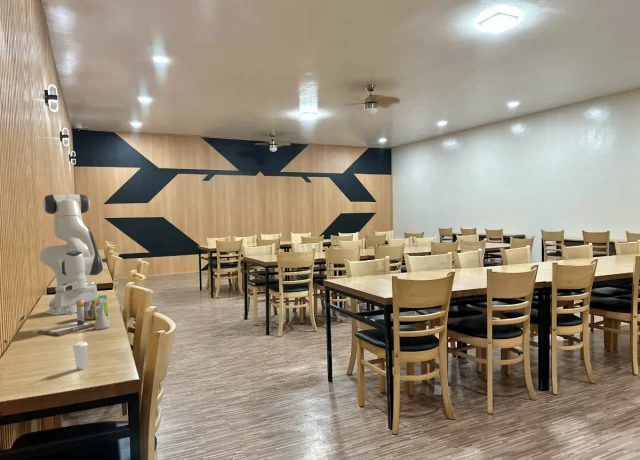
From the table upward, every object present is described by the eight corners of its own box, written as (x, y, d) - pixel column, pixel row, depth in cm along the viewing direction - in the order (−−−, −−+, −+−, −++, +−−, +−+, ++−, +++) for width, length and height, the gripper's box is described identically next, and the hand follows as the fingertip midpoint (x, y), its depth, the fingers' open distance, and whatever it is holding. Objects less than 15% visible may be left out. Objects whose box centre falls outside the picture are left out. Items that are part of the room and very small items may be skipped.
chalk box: (95, 320, 226) (93, 291, 225) (81, 319, 229) (79, 291, 228) (108, 315, 235) (106, 288, 234) (95, 315, 237) (93, 288, 237)
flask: (113, 325, 211) (111, 305, 211) (104, 329, 204) (103, 308, 203) (99, 326, 212) (97, 306, 211) (90, 330, 204) (88, 309, 204)
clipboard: (37, 333, 204) (37, 329, 204) (76, 323, 221) (76, 319, 221) (59, 336, 196) (59, 331, 196) (97, 325, 213) (97, 321, 213)
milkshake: (70, 369, 150) (68, 341, 149) (87, 365, 153) (84, 337, 153) (74, 372, 146) (71, 343, 146) (91, 368, 150) (89, 339, 150)
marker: (75, 325, 211) (74, 300, 210) (81, 323, 214) (80, 299, 213) (80, 325, 210) (79, 300, 209) (85, 324, 213) (85, 299, 212)
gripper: (92, 281, 222) (94, 307, 223) (51, 288, 204) (54, 317, 205) (100, 281, 219) (102, 308, 220) (59, 288, 201) (62, 318, 202)
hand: (78, 312), depth 212 cm, fingers open, 8 cm apart
